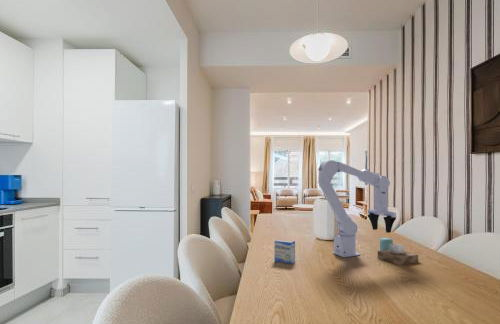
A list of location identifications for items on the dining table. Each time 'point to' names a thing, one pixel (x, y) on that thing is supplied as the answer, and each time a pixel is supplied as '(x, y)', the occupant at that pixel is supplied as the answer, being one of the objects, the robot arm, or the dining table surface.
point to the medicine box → (284, 251)
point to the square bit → (396, 249)
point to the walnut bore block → (398, 257)
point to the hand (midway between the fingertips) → (381, 231)
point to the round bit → (385, 243)
